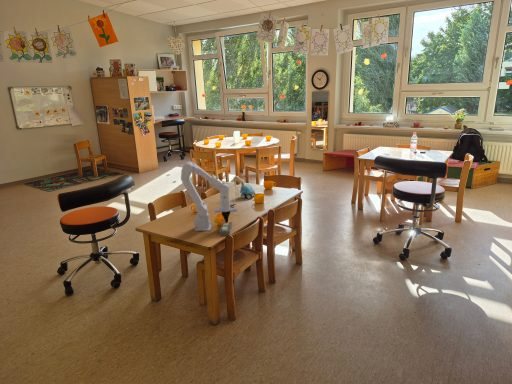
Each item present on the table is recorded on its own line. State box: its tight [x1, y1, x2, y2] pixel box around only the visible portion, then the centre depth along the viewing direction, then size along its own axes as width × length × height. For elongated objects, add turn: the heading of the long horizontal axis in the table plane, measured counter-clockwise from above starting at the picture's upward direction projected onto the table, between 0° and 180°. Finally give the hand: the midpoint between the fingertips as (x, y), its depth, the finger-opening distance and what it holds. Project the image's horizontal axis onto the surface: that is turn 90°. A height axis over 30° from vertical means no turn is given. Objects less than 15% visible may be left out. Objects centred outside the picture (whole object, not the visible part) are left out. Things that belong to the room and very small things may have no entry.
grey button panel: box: [219, 221, 233, 236], centre depth 217 cm, size 6×15×2 cm, turn 178°
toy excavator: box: [233, 175, 256, 200], centre depth 278 cm, size 9×17×17 cm, turn 64°
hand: (226, 222), depth 222 cm, fingers closed, pressing on orange key
